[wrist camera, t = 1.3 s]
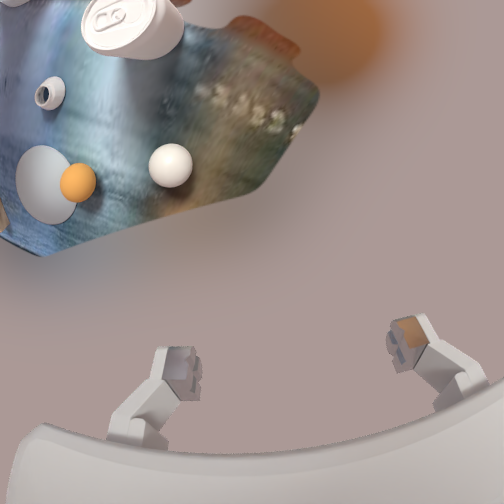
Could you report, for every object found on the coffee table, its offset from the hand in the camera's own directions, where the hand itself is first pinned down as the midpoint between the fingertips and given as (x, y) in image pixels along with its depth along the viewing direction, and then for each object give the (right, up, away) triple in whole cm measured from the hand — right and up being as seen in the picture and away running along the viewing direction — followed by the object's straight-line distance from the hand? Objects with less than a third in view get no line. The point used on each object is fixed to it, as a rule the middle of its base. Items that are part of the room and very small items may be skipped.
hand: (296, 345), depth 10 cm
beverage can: (-14, +30, +13) cm, 36 cm away
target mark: (-35, +14, +23) cm, 44 cm away
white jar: (-30, +26, +15) cm, 42 cm away
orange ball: (-26, +13, +21) cm, 36 cm away
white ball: (-12, +14, +21) cm, 28 cm away
